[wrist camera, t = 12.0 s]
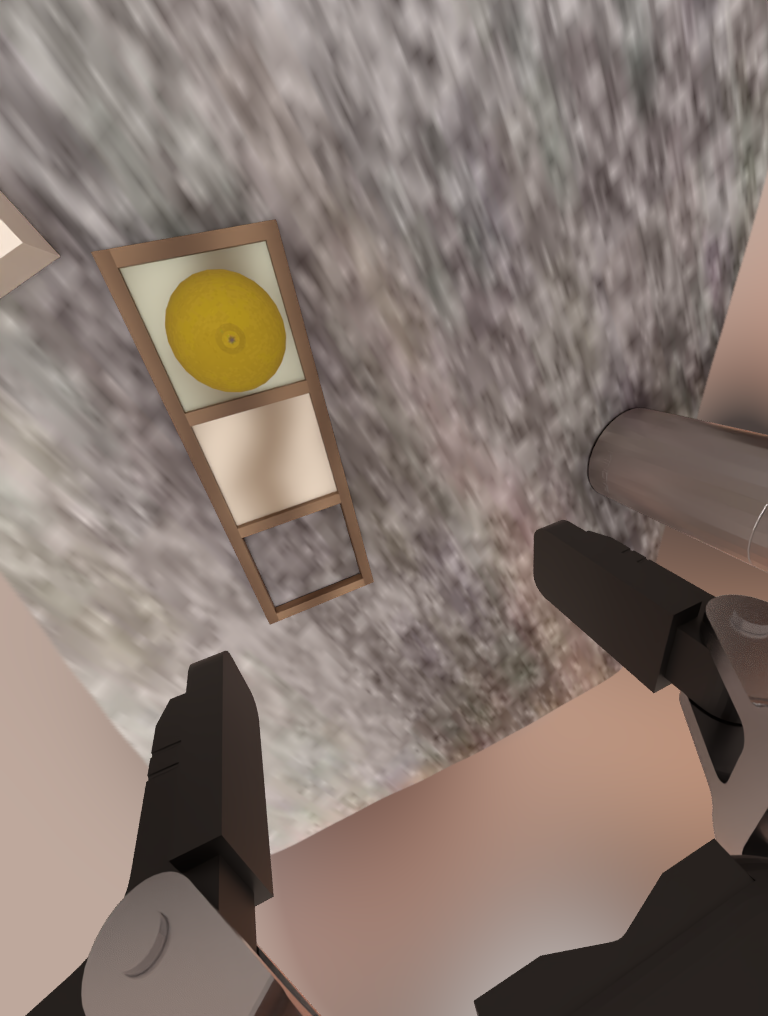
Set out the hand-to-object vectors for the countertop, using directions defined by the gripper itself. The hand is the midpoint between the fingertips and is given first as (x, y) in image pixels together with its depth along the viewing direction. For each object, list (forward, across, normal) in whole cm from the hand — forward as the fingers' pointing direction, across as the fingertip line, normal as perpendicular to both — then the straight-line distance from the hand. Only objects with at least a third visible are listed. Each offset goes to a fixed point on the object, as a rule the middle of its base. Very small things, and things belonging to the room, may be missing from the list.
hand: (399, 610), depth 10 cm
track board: (+20, +2, +2) cm, 20 cm away
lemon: (+20, +2, -6) cm, 21 cm away
